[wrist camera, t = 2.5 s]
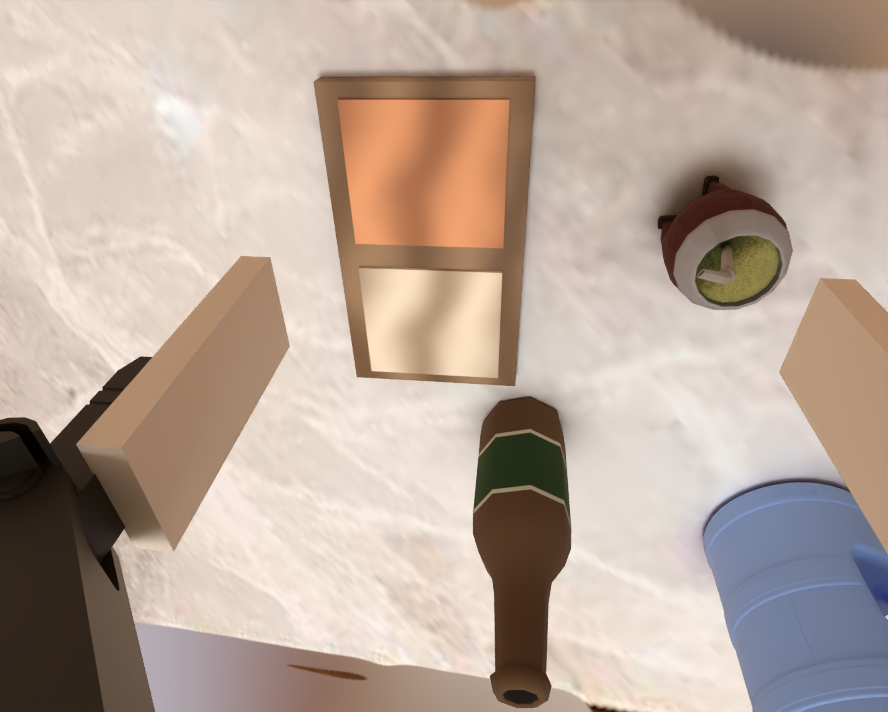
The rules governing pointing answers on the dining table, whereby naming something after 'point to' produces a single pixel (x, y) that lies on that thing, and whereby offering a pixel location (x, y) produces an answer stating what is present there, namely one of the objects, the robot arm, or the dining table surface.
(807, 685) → the water jug
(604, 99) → the dining table surface
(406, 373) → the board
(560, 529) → the beer bottle
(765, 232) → the mate gourd
